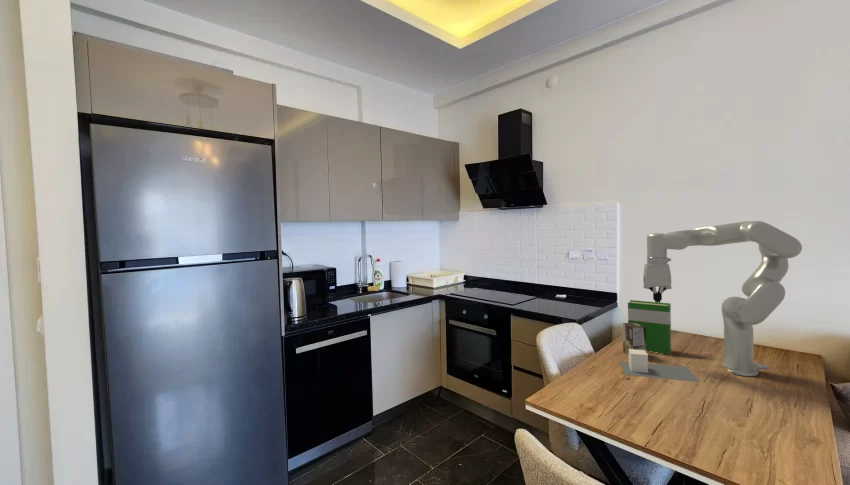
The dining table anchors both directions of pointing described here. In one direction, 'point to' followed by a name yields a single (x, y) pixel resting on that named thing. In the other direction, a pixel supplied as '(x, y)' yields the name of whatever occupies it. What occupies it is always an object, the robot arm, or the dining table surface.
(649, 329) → the hardback book
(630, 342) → the coffee box
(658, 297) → the robot arm
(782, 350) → the dining table surface
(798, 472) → the dining table surface
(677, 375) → the board
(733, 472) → the dining table surface
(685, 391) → the dining table surface
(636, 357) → the small cream cube
